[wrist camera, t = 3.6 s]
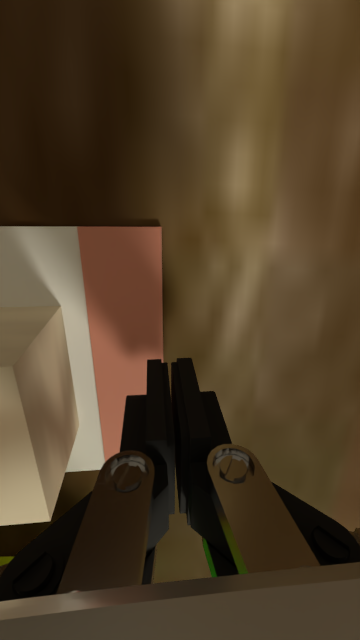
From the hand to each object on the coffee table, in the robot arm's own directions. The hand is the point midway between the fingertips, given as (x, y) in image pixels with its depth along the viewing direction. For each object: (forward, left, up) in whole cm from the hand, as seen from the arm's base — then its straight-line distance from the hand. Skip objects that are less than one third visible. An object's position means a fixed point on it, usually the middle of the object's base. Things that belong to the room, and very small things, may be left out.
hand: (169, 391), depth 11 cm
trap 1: (0, +2, -2) cm, 3 cm away
